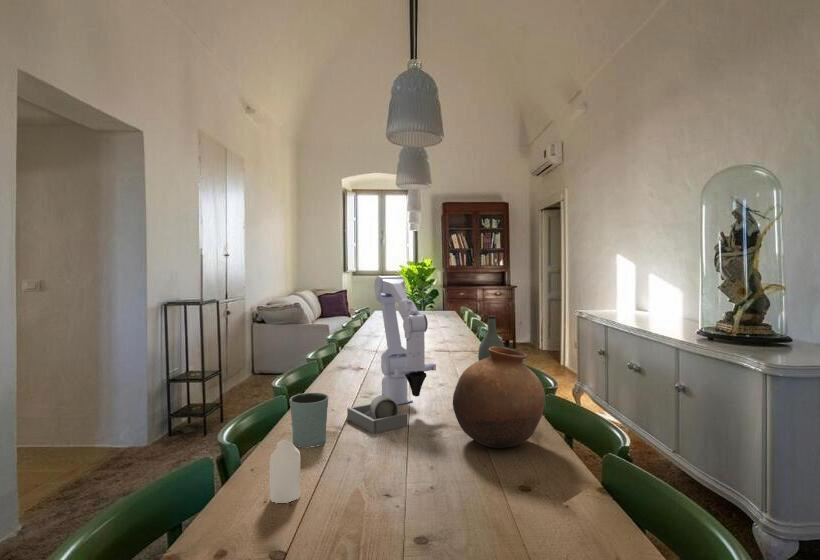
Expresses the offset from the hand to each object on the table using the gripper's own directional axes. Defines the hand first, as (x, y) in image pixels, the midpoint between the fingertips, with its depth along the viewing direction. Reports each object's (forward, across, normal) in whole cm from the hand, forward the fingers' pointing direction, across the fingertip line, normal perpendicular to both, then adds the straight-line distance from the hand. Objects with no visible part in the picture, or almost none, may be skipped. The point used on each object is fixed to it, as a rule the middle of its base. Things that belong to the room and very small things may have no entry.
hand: (415, 395), depth 152 cm
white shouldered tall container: (+6, -53, -31) cm, 62 cm away
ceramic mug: (+6, -13, 0) cm, 15 cm away
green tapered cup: (+6, -37, -4) cm, 38 cm away
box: (+6, -14, 0) cm, 15 cm away
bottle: (+6, +26, -7) cm, 28 cm away
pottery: (+6, +3, -34) cm, 35 cm away
